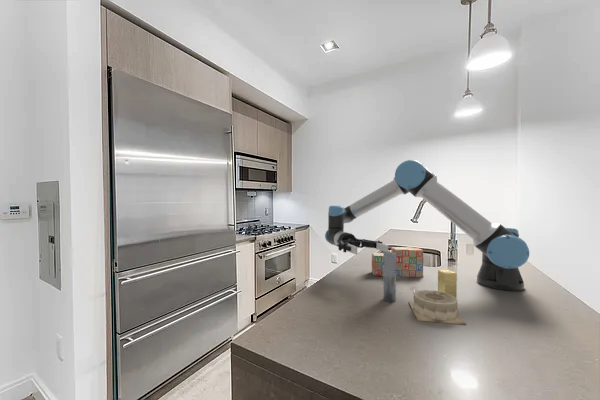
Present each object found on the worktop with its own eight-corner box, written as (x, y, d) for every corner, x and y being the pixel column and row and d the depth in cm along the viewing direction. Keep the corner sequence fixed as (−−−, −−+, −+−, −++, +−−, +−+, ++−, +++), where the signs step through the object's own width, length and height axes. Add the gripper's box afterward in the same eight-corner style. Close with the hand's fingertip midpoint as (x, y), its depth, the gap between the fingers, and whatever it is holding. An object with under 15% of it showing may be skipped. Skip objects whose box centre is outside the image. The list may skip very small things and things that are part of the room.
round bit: (394, 298, 90) (394, 252, 90) (396, 302, 86) (396, 254, 86) (382, 297, 91) (383, 251, 91) (384, 301, 87) (384, 254, 87)
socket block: (449, 306, 83) (449, 291, 83) (466, 324, 71) (466, 306, 71) (408, 303, 86) (408, 288, 86) (417, 320, 74) (417, 302, 74)
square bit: (448, 298, 90) (449, 269, 90) (456, 303, 86) (456, 273, 86) (437, 298, 90) (437, 270, 90) (444, 303, 86) (445, 273, 86)
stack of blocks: (374, 276, 116) (374, 249, 116) (371, 272, 122) (371, 246, 122) (423, 277, 114) (423, 249, 114) (418, 273, 121) (418, 247, 121)
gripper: (368, 247, 122) (399, 257, 102) (319, 250, 114) (342, 261, 94) (368, 231, 122) (399, 238, 102) (320, 233, 114) (342, 241, 94)
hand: (372, 249), depth 98 cm, fingers open, 13 cm apart
